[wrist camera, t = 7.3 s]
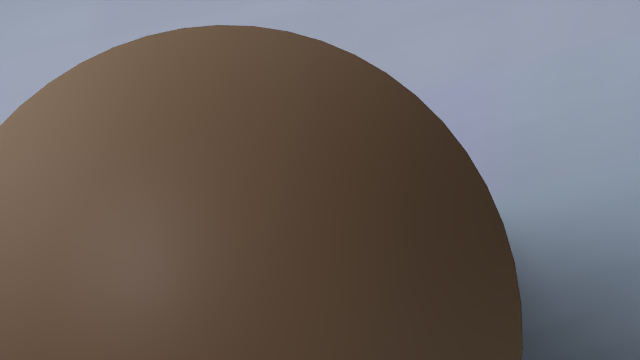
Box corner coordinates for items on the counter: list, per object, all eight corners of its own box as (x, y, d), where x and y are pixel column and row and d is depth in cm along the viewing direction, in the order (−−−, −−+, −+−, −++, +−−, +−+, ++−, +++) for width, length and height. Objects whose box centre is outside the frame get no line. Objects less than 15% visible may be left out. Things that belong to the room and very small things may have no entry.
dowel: (403, 308, 16) (657, 429, 3) (288, 379, 16) (57, 831, 3) (334, 195, 17) (316, -67, 4) (224, 261, 16) (-177, 203, 4)
